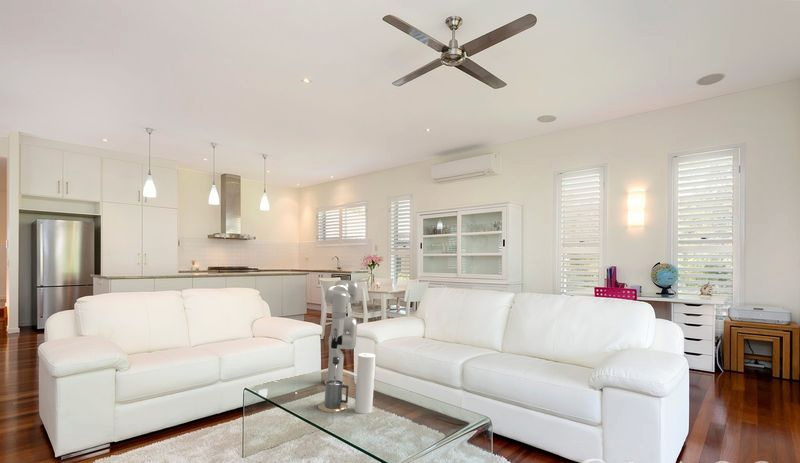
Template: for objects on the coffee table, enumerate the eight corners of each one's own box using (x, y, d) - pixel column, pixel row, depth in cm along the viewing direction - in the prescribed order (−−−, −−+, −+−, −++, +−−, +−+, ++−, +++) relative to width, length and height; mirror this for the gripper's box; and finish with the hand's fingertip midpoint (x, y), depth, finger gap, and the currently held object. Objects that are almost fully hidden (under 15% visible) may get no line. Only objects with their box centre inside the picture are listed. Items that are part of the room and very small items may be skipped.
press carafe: (323, 400, 238) (324, 376, 239) (350, 403, 236) (352, 379, 237) (313, 410, 222) (315, 385, 223) (343, 413, 220) (344, 388, 221)
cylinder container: (369, 414, 222) (373, 357, 223) (352, 412, 223) (356, 355, 225) (373, 408, 231) (377, 353, 232) (357, 406, 233) (361, 351, 234)
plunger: (330, 382, 233) (332, 355, 234) (341, 384, 233) (343, 356, 233) (326, 386, 227) (328, 358, 228) (338, 387, 226) (340, 359, 227)
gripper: (336, 312, 241) (334, 342, 240) (327, 316, 224) (325, 349, 223) (349, 313, 240) (347, 343, 239) (341, 317, 223) (338, 350, 222)
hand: (336, 346), depth 231 cm, fingers open, 9 cm apart
